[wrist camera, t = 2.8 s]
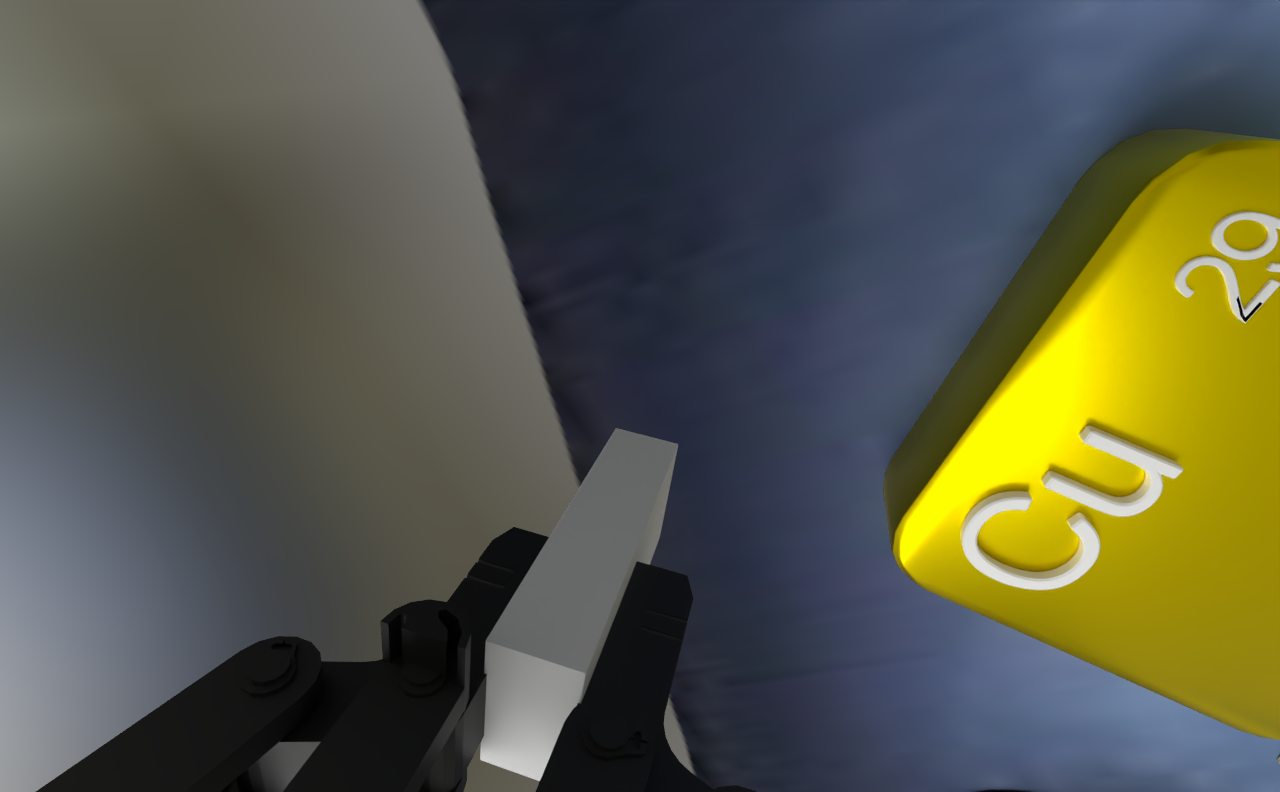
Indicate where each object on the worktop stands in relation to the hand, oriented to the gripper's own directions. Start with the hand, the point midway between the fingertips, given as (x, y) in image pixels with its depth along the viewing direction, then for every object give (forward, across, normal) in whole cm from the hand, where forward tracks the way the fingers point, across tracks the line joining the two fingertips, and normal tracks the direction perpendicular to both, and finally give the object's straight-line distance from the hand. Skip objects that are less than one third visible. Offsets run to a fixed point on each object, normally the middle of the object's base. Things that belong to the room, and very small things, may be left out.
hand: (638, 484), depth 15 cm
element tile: (+10, +16, +1) cm, 19 cm away
